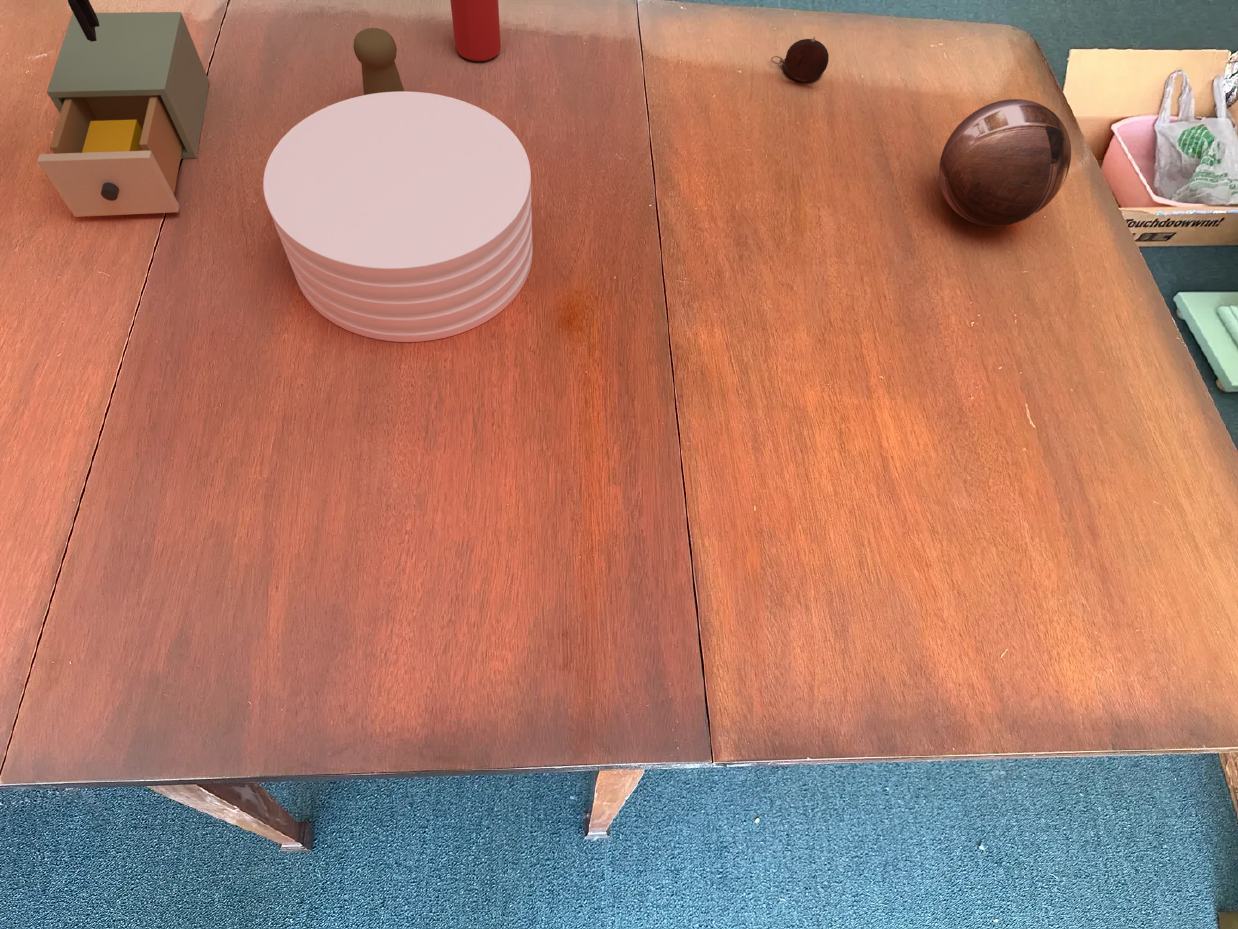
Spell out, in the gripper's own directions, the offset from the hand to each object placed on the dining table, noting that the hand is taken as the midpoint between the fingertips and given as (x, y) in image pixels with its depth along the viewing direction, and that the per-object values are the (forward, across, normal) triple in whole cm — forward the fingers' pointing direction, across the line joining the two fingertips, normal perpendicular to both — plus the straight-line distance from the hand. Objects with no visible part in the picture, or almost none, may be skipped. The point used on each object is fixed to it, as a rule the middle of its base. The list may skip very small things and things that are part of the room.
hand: (38, 41), depth 76 cm
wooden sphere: (+21, -102, +33) cm, 109 cm away
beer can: (+21, -49, -19) cm, 56 cm away
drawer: (+19, -1, -4) cm, 20 cm away
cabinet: (+20, -4, -16) cm, 26 cm away
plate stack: (+21, -30, +17) cm, 40 cm away
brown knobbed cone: (+21, -33, -9) cm, 40 cm away
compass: (+21, -93, -2) cm, 95 cm away
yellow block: (+18, -1, -4) cm, 19 cm away
